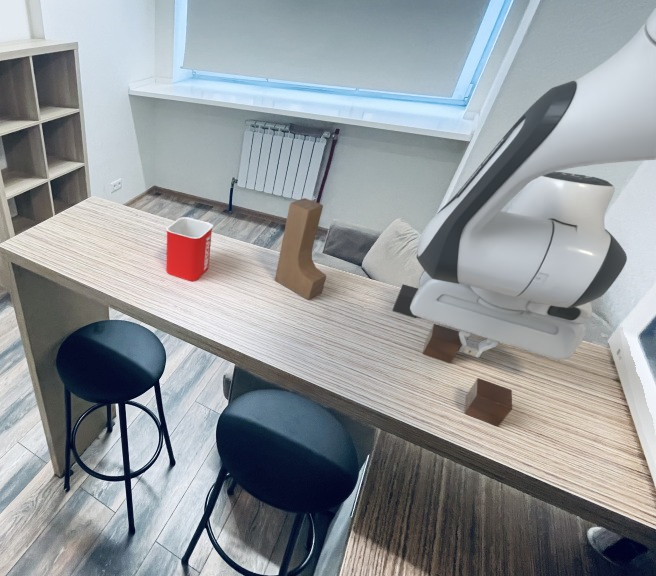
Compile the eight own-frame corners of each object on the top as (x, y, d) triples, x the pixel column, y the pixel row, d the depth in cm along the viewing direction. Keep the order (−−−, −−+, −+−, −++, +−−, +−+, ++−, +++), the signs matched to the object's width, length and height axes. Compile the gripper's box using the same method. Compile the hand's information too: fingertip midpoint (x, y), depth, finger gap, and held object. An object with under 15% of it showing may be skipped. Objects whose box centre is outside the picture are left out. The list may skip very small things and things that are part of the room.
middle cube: (452, 349, 70) (462, 332, 67) (450, 363, 67) (460, 345, 65) (425, 340, 72) (434, 323, 69) (422, 354, 69) (431, 336, 67)
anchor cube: (418, 307, 80) (426, 290, 77) (415, 318, 77) (423, 301, 75) (395, 300, 81) (402, 284, 79) (392, 310, 79) (399, 294, 77)
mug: (195, 283, 87) (198, 240, 81) (162, 272, 91) (162, 230, 85) (219, 259, 96) (223, 217, 89) (188, 250, 99) (190, 209, 93)
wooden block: (322, 293, 84) (345, 212, 73) (308, 301, 82) (330, 219, 71) (287, 274, 90) (304, 197, 80) (273, 280, 88) (289, 202, 78)
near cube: (498, 408, 60) (511, 389, 57) (498, 427, 57) (512, 408, 55) (465, 395, 62) (477, 377, 59) (464, 413, 59) (476, 395, 57)
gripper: (424, 271, 62) (394, 338, 70) (609, 319, 52) (548, 392, 60) (429, 253, 66) (400, 319, 74) (601, 295, 56) (545, 366, 64)
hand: (467, 352), depth 67 cm, fingers closed
